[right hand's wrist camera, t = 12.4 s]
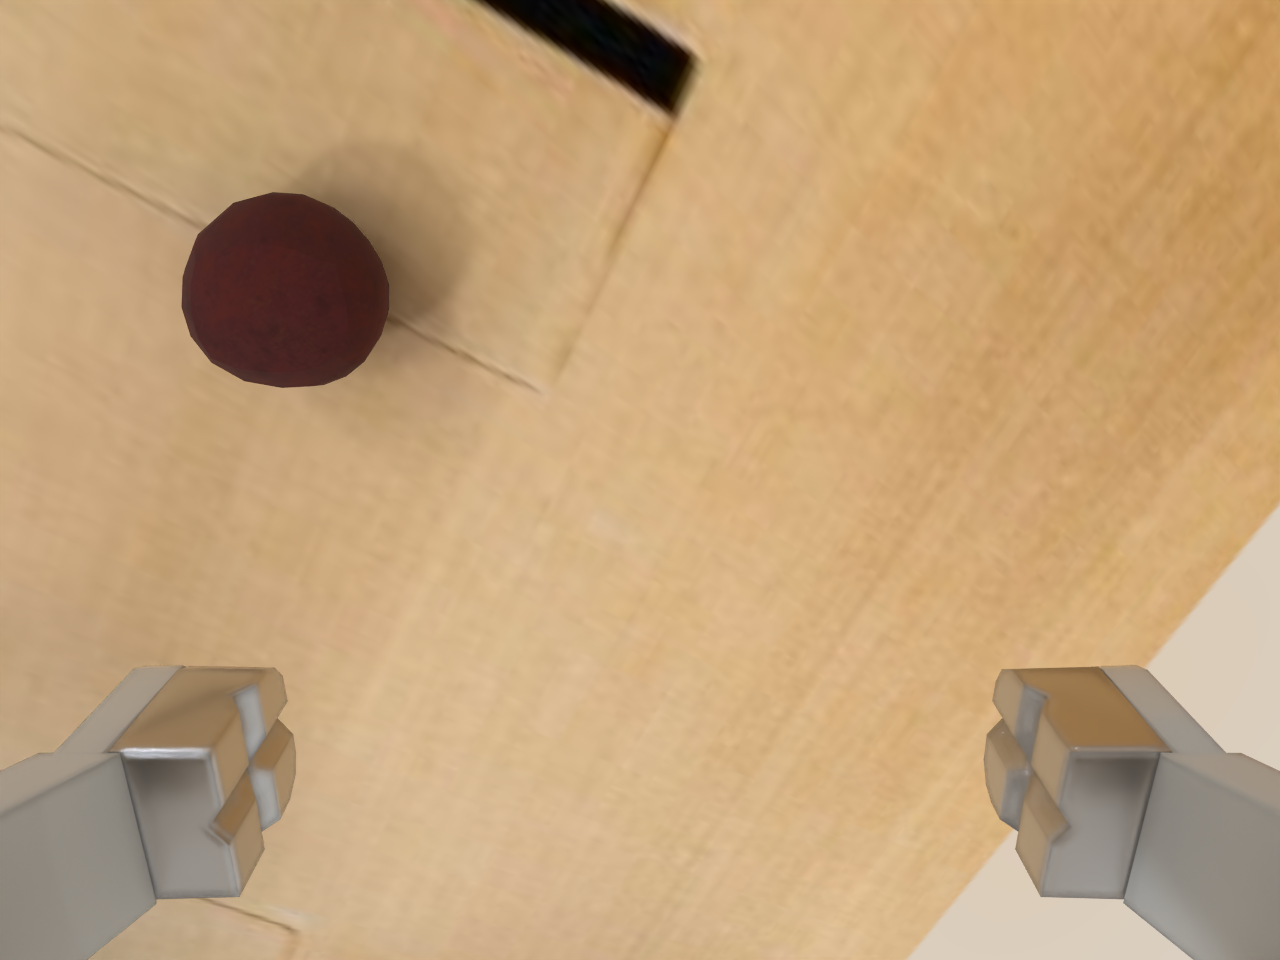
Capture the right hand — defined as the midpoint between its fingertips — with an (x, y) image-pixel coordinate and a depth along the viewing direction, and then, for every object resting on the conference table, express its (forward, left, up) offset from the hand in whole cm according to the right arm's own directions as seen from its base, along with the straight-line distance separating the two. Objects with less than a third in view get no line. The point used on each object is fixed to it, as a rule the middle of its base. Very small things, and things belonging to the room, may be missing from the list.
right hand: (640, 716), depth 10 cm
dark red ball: (0, -14, -31) cm, 34 cm away
